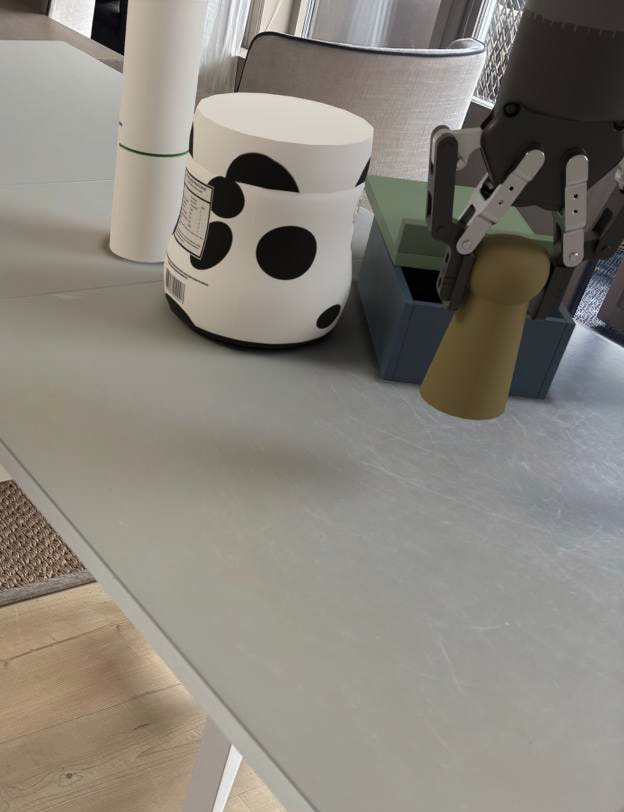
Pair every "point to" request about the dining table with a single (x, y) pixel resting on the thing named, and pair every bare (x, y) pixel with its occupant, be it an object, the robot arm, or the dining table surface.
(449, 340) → the brown pawn
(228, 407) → the dining table surface
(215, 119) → the milk container
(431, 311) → the bin
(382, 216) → the bin lid
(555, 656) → the dining table surface
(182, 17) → the cylindrical container
